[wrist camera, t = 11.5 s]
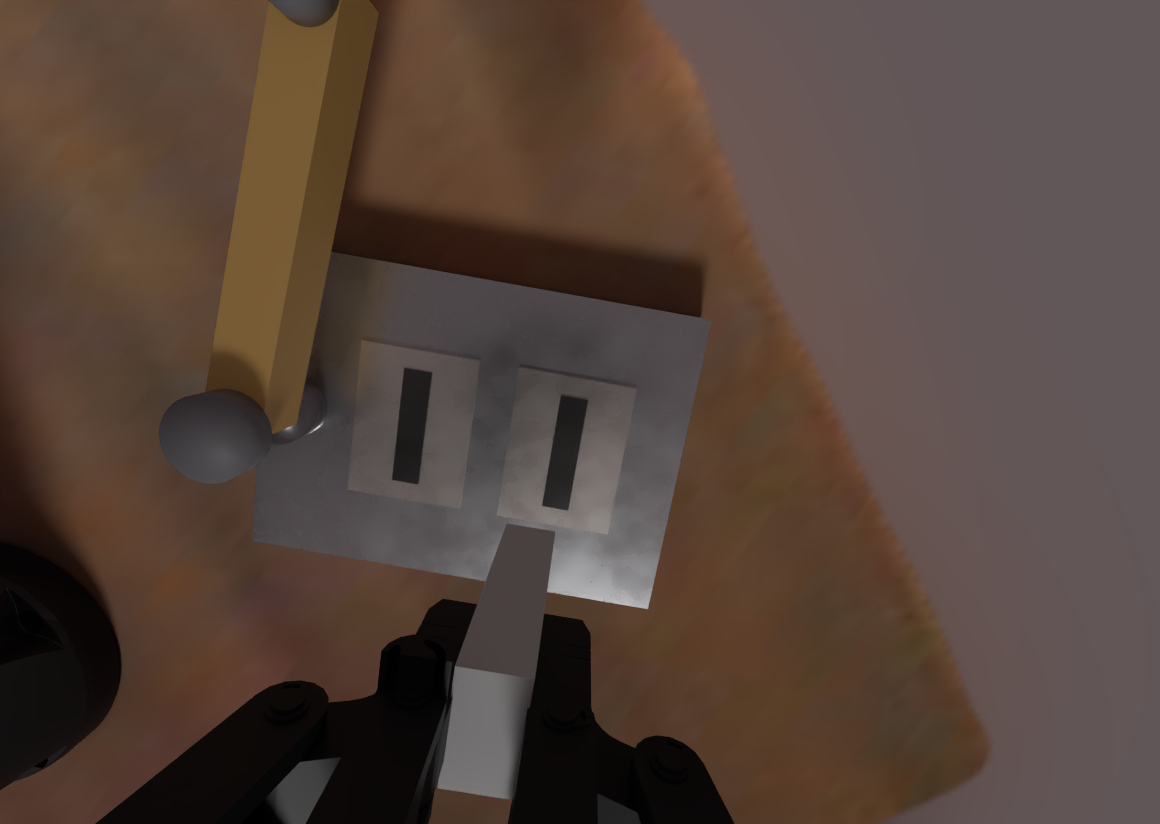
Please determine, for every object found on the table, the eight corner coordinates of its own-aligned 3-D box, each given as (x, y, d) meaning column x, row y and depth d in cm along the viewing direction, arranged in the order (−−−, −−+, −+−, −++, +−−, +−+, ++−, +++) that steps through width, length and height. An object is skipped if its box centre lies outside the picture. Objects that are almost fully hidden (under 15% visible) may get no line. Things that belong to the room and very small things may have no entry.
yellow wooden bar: (300, 461, 26) (240, 495, 22) (227, 440, 26) (151, 470, 22) (393, 12, 22) (342, -60, 18) (307, -16, 22) (234, -96, 18)
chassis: (278, 522, 32) (227, 558, 28) (296, 245, 29) (242, 235, 25) (643, 585, 33) (651, 631, 28) (702, 318, 29) (721, 321, 25)
